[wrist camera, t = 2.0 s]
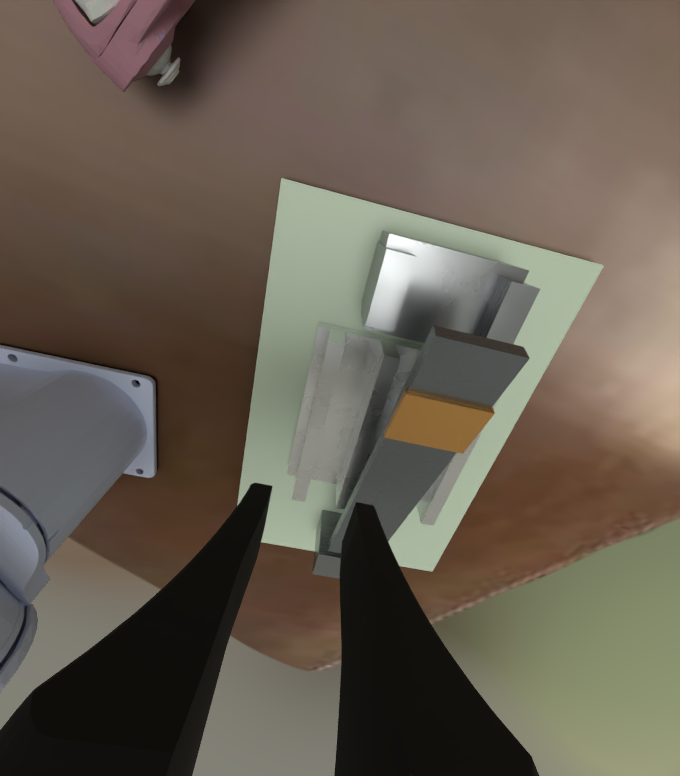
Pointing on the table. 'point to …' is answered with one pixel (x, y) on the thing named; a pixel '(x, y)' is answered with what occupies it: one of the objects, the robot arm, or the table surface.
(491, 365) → the bar
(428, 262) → the hinge and catch
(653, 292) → the table surface
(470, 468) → the pale green board
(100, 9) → the pink plastic car shape
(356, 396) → the heat sink
